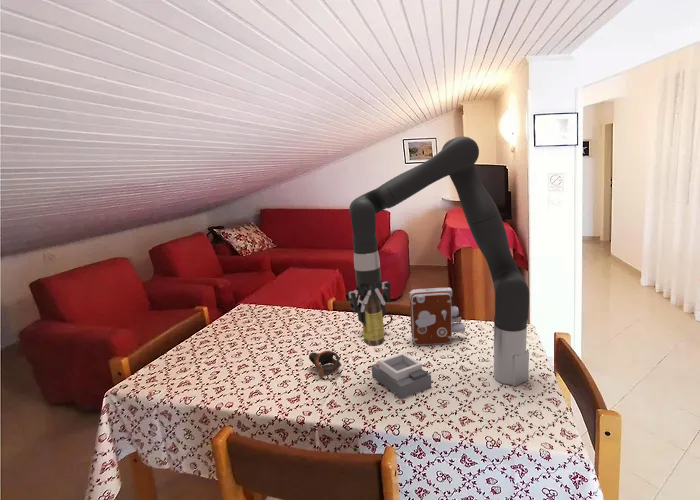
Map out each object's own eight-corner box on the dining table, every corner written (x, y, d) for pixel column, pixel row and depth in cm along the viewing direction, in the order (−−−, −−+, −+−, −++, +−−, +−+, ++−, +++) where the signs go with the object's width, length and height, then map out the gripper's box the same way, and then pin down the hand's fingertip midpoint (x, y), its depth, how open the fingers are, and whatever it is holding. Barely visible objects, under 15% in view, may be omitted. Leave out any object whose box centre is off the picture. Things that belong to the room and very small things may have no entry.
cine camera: (467, 344, 162) (467, 292, 157) (413, 347, 162) (411, 295, 158) (461, 334, 171) (461, 283, 166) (410, 337, 171) (408, 287, 167)
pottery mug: (346, 366, 154) (345, 352, 148) (334, 389, 148) (333, 376, 142) (314, 354, 157) (313, 340, 152) (302, 376, 151) (300, 363, 146)
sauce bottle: (365, 338, 141) (359, 277, 136) (385, 337, 140) (380, 276, 135) (363, 347, 135) (357, 284, 130) (384, 347, 134) (378, 283, 129)
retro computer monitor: (431, 386, 136) (430, 367, 135) (401, 398, 131) (400, 378, 130) (400, 366, 150) (399, 348, 148) (372, 376, 145) (371, 357, 143)
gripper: (352, 274, 125) (358, 330, 129) (394, 263, 132) (399, 316, 136) (339, 269, 132) (345, 322, 135) (380, 258, 138) (384, 310, 142)
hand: (372, 319), depth 136 cm, fingers closed on sauce bottle, 6 cm apart
